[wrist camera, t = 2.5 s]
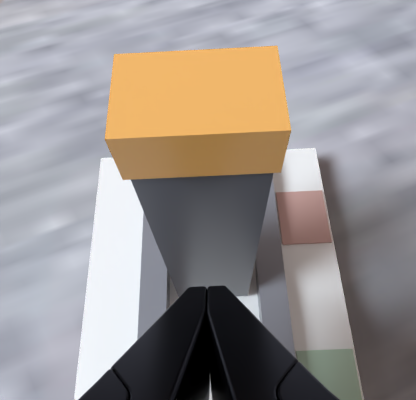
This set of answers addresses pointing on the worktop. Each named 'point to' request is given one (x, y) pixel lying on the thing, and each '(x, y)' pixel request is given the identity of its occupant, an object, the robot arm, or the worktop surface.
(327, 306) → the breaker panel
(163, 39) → the worktop surface
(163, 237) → the handle
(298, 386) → the robot arm
